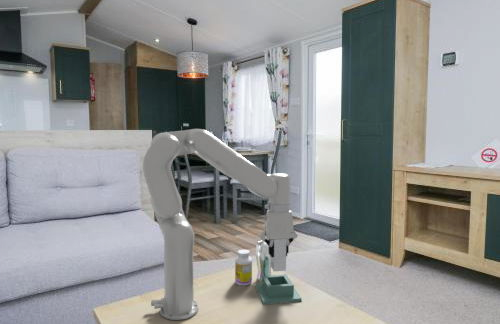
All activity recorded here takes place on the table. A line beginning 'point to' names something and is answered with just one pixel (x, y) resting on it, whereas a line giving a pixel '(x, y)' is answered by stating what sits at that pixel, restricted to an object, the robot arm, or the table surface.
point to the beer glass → (263, 260)
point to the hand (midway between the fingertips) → (278, 255)
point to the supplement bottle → (243, 268)
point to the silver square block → (279, 255)
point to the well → (277, 290)
